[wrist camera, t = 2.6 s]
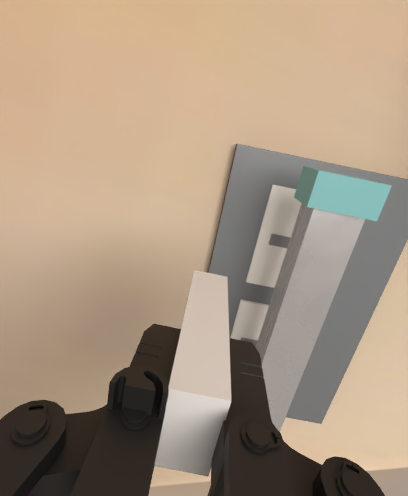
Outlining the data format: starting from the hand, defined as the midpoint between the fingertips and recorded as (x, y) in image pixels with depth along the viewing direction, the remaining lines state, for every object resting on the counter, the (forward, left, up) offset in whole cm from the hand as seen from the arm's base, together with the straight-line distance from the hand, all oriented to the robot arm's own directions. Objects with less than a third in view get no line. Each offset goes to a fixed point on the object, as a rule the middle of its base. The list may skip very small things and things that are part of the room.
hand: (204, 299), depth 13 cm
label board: (+9, -7, -14) cm, 18 cm away
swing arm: (+7, -7, -8) cm, 12 cm away
